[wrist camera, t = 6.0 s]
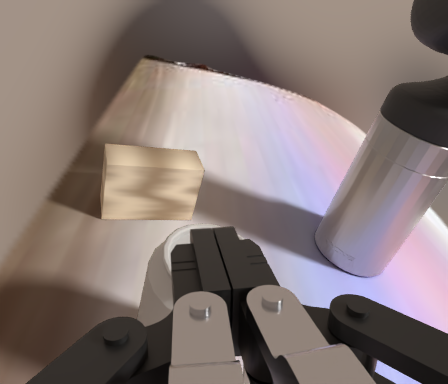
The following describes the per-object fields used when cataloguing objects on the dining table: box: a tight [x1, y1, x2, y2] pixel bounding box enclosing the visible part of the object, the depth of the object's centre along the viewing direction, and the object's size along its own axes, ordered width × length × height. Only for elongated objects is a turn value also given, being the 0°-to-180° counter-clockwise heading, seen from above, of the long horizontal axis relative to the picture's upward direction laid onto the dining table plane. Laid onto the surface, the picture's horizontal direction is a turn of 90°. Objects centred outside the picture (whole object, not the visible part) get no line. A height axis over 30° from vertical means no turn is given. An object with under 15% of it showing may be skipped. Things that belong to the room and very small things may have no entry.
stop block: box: [100, 144, 205, 220], centre depth 41 cm, size 10×4×7 cm, turn 107°
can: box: [137, 223, 244, 327], centre depth 26 cm, size 8×8×12 cm
